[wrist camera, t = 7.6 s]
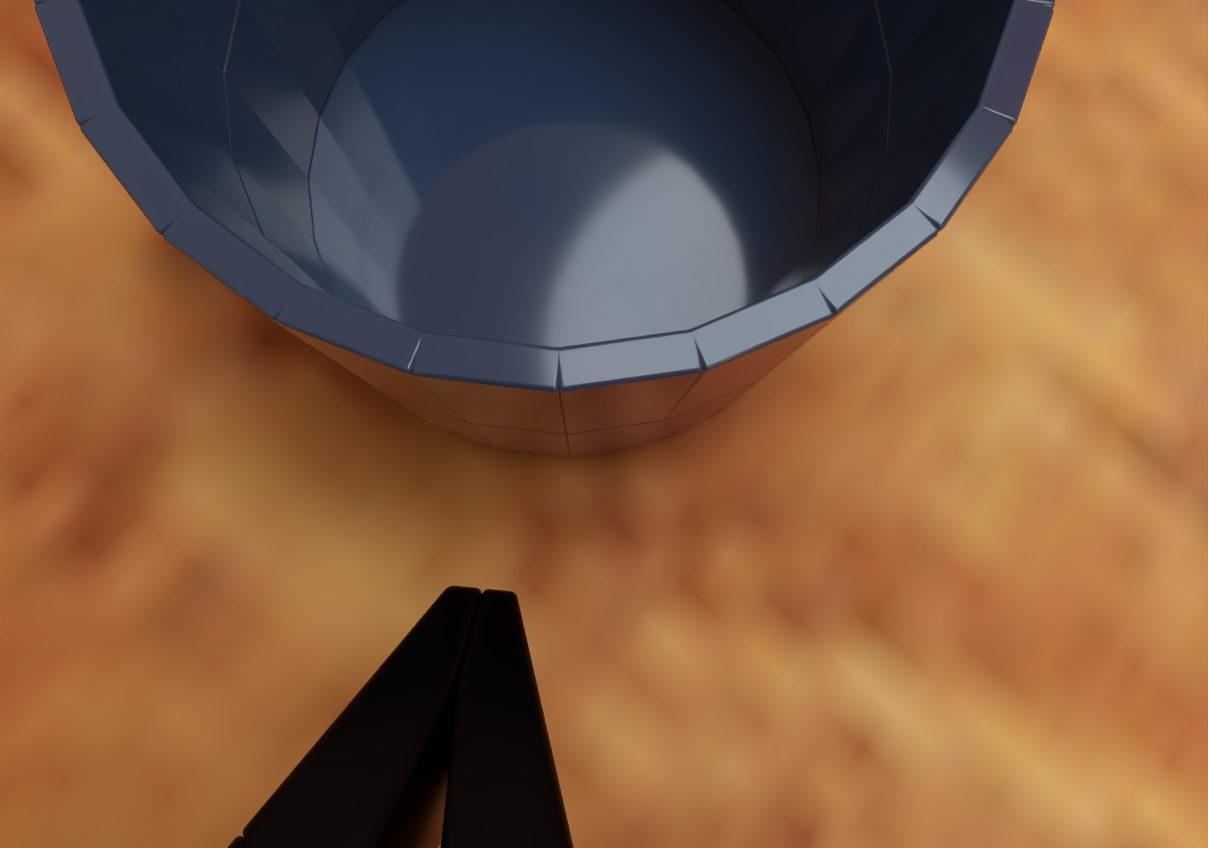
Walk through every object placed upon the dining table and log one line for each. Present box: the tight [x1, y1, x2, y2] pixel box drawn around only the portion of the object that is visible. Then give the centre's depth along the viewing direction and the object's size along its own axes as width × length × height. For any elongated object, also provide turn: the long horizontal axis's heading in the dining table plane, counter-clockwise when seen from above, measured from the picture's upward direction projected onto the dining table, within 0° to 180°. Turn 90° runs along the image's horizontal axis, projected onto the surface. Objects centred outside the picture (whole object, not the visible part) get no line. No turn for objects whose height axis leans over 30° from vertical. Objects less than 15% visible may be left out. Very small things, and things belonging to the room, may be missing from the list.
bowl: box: [34, 0, 1055, 456], centre depth 13 cm, size 12×12×8 cm
